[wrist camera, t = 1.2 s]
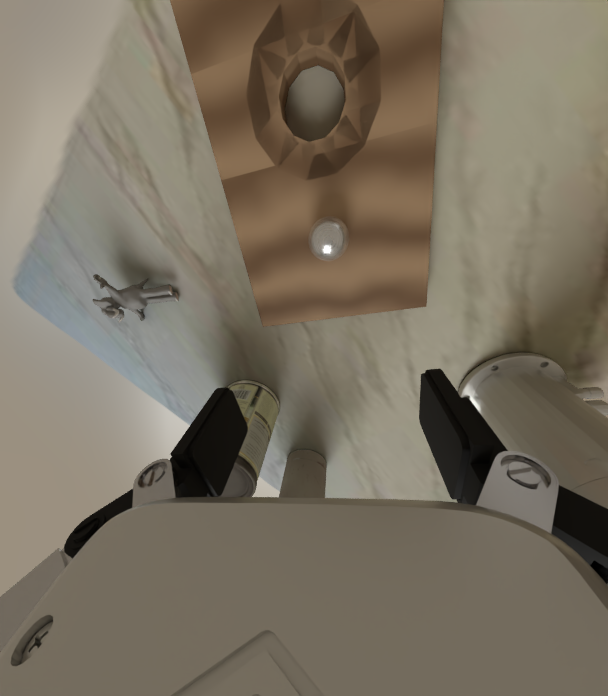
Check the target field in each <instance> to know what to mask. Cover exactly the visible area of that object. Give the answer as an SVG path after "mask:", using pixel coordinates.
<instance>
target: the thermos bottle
mask: <svg viewBox="0 0 608 696" xmlns="http://www.w3.org/2000/svg"><path fill="white" fill-rule="evenodd" d="M325 485H326V461H325V459H324V458H323V457H322V456H321V455H320V454H318V453H316V452H314V451H311V450H303V449H302V450H296V451H294V452H292V453H291V454H290V455H289V456H288V458H287V463H286V467H285V472H284V476H283V481H282V485H281V490H280V494H279V497H280V498H325Z"/></svg>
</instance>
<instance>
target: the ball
mask: <svg viewBox="0 0 608 696" xmlns="http://www.w3.org/2000/svg"><path fill="white" fill-rule="evenodd" d="M308 243H309V247H310V250H311V252H312V253H313V254H314V256H316V257H317V258H318V259H320V260H323V261H332V260H335V259H337V258H339V257H340V256H341V255H342V254H343V253H344V252H345V250H346V248H347V246H348V243H349V232H348V229H347V227H346V225H345V224H344V223H343V222H342V221H341V220H340V219H338V218H336V217H332V216H327V217H323V218H321V219H319V220H317V221H316V222H315V223H314V224H313V226H312V227H311V229H310V232H309V236H308Z"/></svg>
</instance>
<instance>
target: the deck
mask: <svg viewBox="0 0 608 696" xmlns="http://www.w3.org/2000/svg"><path fill="white" fill-rule="evenodd" d="M170 2H171V5H172V9H173V12H174V16H175V19H176V23H177V26H178V30H179V33H180V37H181V40H182V44H183V47H184V51H185V54H186V58H187V61H188V65H189V68H190V72H191V75H192V79H193V82H194V86H195V90H196V93H197V97H198V100H199V104H200V107H201V111H202V114H203V118H204V121H205V125H206V128H207V132H208V135H209V139H210V142H211V146H212V149H213V153H214V156H215V160H216V163H217V167H218V170H219V174H220V177H221V181H222V184H223V188H224V191H225V195H226V198H227V202H228V205H229V209H230V212H231V216H232V219H233V223H234V226H235V230H236V233H237V237H238V240H239V244H240V248H241V251H242V255H243V258H244V262H245V265H246V269H247V272H248V276H249V279H250V283H251V286H252V290H253V293H254V297H255V300H256V304H257V307H258V311H259V314H260V318H261V321H262V325H263V327H265V326H273V325H281V324H289V323H297V322H305V321H313V320H321V319H329V318H337V317H345V316H353V315H361V314H369V313H377V312H386V311H394V310H402V309H410V308H418V307H426V303H427V286H428V268H429V251H430V233H431V216H432V198H433V181H434V163H435V146H436V128H437V111H438V93H439V76H440V58H441V41H442V23H443V6H444V0H170ZM317 65H319V66H321V67H324V68H326V69H328V70H330V71H333V72H334V73H335V75H336V77H337V78H338V80H339V82H340V84H341V85H342V87H343V89H344V98H345V105H344V108H343V111H342V114H341V117H340V121H339V123H338V124H337V125H336V126H335V127H334V128H333V129H332V131H331V132H330V133H329V134H328V135H327V136H326V137H325V138H321V139H318V140H314V141H311V142H308V141H306V140H303V139H301V138H298V137H296V136H294V135H293V134H292V132H291V131H290V129H289V128H288V126H287V120H286V114H285V105H286V100H287V96H288V91H289V87H290V86H291V84H292V83H293V82H294V80H295V79H296V78H297V76H298V75H299V74H300V72H301V71H302V70H305V69H308V68H311V67H314V66H317ZM327 216H332V217H336V218H338V219H340V220H341V221H342V222H343V223H344V224H345V225H346V227H347V229H348V232H349V243H348V246H347V248H346V250H345V252H344V253H343V254H342V255H341V256H340V257H339V258H337V259H335V260H332V261H323V260H320V259H318V258H317V257H316V256H314V254H313V253H312V252H311V250H310V247H309V243H308V236H309V232H310V229H311V227H312V226H313V224H314V223H315V222H316V221H317V220H319V219H321V218H323V217H327Z"/></svg>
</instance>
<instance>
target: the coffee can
mask: <svg viewBox="0 0 608 696" xmlns="http://www.w3.org/2000/svg"><path fill="white" fill-rule="evenodd" d="M227 388H229V389H230V390H232V391H233V393H234V395H235V398H236V400H237V402H238V405H239V407H240V409H241V412H242V414H243V416H244V419H245V421H246V423H247V426H248V432H247V435H246V437H245V440H244V442H243V445H242V447H241V450H240V452H239V454H238V457H237V459H236V462H235V464H234V466H233V469H232V471H231V474H230V476H229V479H228V481H227V483H226V486H225V488H224V491H223V493H222V495H221V496H219V497H252V496H253V494H254V493H255V490H256V486H257V480H258V477H259V473H260V470H261V467H262V464H263V461H264V457H265V454H266V451H267V447H268V444H269V441H270V438H271V435H272V432H273V428H274V425H275V422H276V418H277V416H278V413H279V410H280V405H279V401H278V399H277V397H276V395H275V394H274V393H273V392H272V391H271V390H270V389H269V388H268V387H266V386H265V385H263V384H261V383H258V382H255V381H249V380H242V381H237V382H234V383H232V384H231V385H229V386H228V387H227Z"/></svg>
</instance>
